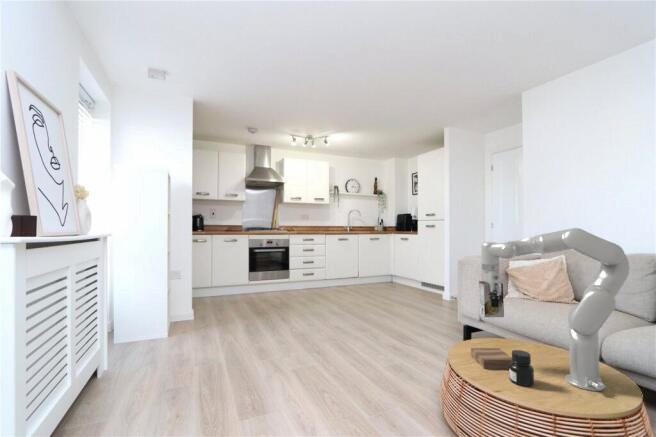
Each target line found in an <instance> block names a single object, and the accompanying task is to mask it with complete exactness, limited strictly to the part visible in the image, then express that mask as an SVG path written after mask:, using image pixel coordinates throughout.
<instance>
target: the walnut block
mask: <svg viewBox="0 0 656 437" xmlns="http://www.w3.org/2000/svg"><path fill="white" fill-rule="evenodd" d="M470 349H471V350H470V353H471V354H470V355H471V358H472V359H474V361H476V362H477V363H478V365H480V366H481V367H482V368H483V369H485V370H486V369H487V370H491V369H492V370H509V364H510V363H511V362H512V356H510V355H509V354H508V353H507V352H505V351H504V350H503V349H501V348H500V347H488V348H487V347H477V348H476V347H471V348H470Z"/></svg>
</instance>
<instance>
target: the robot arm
mask: <svg viewBox="0 0 656 437" xmlns="http://www.w3.org/2000/svg"><path fill="white" fill-rule="evenodd" d="M569 250H573V251H576V252H578V253H580V254H581V255H584V256H587V257H588V258H591V259H593V260H595V261H597V262H599V263H600V268H599V270H597V271H598V272H597V273H596V275H595V277H594V278H593V280H592V281H591V282H590V283H589V285H588V286H587V287H586V289H584V291H583V293H582V294H583V296H582V298H581V300H580V301H579V303H578V305H576V306H574V307H572V308H571V309H570V310H569V311H568V316H567V320H568V348H569V349H568V352H569V354H568V355H569V373H568V374H565V377H564V378H565V381H566V382H567V383H568V384H570V385H572V386H574V387H576V388H580V389H583V390H586V391H593V392H601V391H603V390H605V389H606V385H605V384H604V383H603V381H602V378H601V377H600V352H599V342H600V341H599V331H600V330H601V328H602V327H603V325H604V324H605V323H606V322H607V321H608V319H609V317H610V316H611V314H613V312H614V310H615V308H616V306H617V305H616V304H617V302H616V301H617V300H616V297H617V295H618V293H619V292H620V290H621V288H622V287H623V286H624V284H625V282H626V280H627V279H628V277H629V275H630V262H629V260H628V256H627V255H626V253H625V251H624V249H623V248H622V246H620V245H618V244H617V243H615V242H611V241H610V240H607V239H604V238H602V237H600V236H597V235H595V234H593V233H590V232H589V231H587V230H584V229H582V228H580V227H573V228H567V229H563V230H557V231H551V232H548V233H542V234H537V235H534V236H531V237H526V238H522V239H517V240H511V241H506V242H494V241H493V242H491V241H490V242H489V241H488V242H483V243H482V244H481V272H482V276H481V277H482V281H484V282H486V283H489V289H490V292H491V295H492V298H491V306H492V307H499V296H500V293H501V283H502V280H501V274H500V258H501V259H508V260H509V259H512V258H514V257H515V258H516V257H520V256H525V255H531V254H539V255H540V254H542V255H544V254H550V253H551V254H552V253H557V252H562V251H563V252H564V251H569ZM493 290H496V292H493ZM494 293H496V294H495V295H494Z"/></svg>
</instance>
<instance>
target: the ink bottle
mask: <svg viewBox="0 0 656 437" xmlns="http://www.w3.org/2000/svg"><path fill="white" fill-rule="evenodd" d="M511 357H512V362H511V363H510V364H509V369H508V370H509V380H510V382H512V384H515V385H517V386H521V387H527V388H528V387H533V386H534V385H535V369H534V367H533V365H531V364H532V363H531V362H532V360H531V359H532V358H531V353H529V352H528V351H526V350H525V351H524V350H520V349H514V350H511Z"/></svg>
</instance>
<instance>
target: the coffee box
mask: <svg viewBox="0 0 656 437" xmlns="http://www.w3.org/2000/svg"><path fill="white" fill-rule="evenodd" d="M493 292H496V290H493ZM478 294H479V295H478V296H479V300H478V301H479V315H481V316H482V317H484V318H505V305H504V304H505V303H504V283H502V282H501V293H500V296H499V307H492V306H491V298H492V295H491V292H490V289H489V283H486V282H484V281H481V280H479V281H478ZM495 294H496V293H494V295H495Z"/></svg>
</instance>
